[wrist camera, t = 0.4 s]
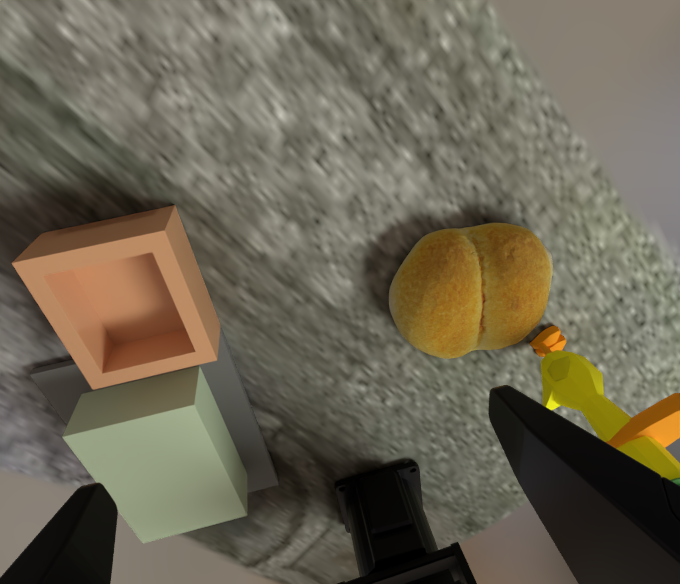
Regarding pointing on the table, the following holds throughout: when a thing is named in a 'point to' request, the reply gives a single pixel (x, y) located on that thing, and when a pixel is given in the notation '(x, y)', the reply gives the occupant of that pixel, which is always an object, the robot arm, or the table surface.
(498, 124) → the table surface
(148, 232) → the dish
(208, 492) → the lid
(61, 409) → the mat
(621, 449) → the toy figure
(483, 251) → the bread roll
